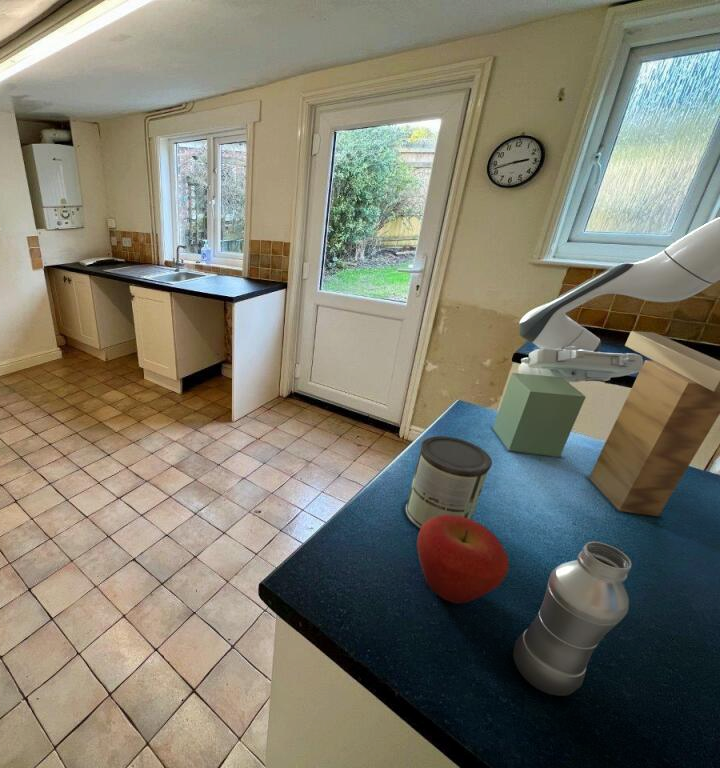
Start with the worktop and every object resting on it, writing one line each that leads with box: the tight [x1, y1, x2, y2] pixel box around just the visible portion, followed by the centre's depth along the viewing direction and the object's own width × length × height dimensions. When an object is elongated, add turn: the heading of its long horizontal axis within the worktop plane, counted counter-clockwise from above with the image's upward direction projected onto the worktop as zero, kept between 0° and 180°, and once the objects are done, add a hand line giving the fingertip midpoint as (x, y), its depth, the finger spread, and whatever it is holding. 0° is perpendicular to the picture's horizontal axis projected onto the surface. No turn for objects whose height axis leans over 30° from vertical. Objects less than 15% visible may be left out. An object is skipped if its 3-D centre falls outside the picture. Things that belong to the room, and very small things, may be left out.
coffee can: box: [405, 435, 493, 530], centre depth 72 cm, size 10×10×14 cm
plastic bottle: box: [512, 541, 632, 697], centre depth 46 cm, size 6×7×20 cm
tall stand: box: [588, 359, 720, 517], centre depth 74 cm, size 6×10×26 cm, turn 166°
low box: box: [492, 372, 587, 458], centre depth 94 cm, size 10×10×15 cm
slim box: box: [624, 330, 720, 392], centre depth 70 cm, size 4×21×3 cm, turn 166°
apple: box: [416, 515, 510, 604], centre depth 58 cm, size 11×11×12 cm
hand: (606, 355), depth 88 cm, fingers open, 8 cm apart
